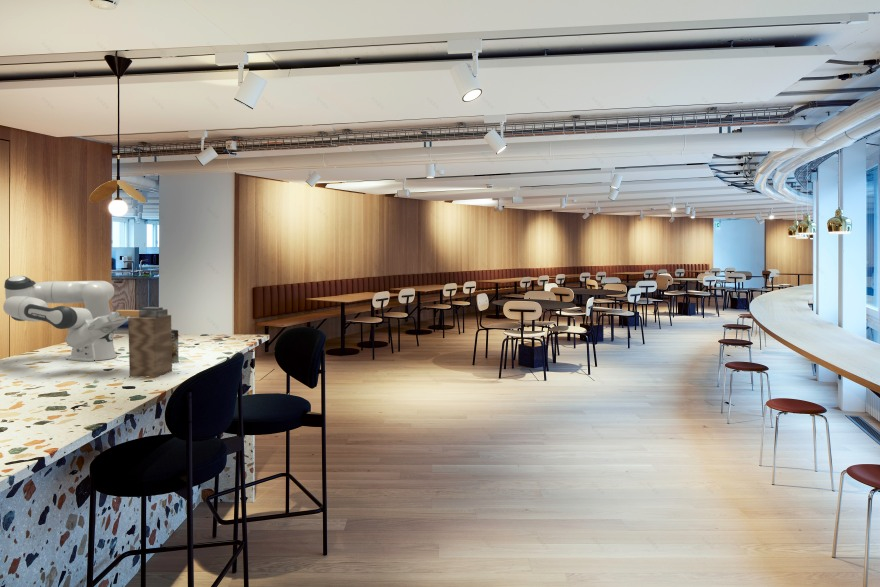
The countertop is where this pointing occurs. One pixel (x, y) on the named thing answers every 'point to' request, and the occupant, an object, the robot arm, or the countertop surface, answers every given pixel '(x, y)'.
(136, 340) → the stand
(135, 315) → the handled tool
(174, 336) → the coffee box
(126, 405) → the countertop surface
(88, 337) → the robot arm
